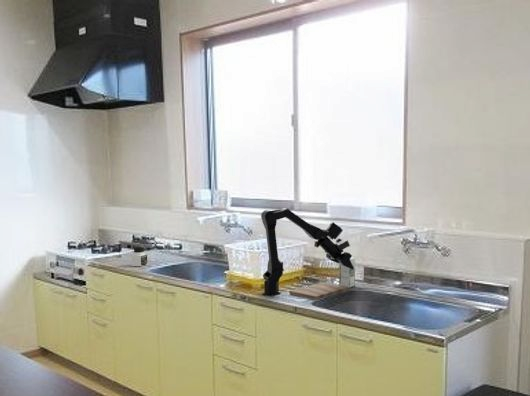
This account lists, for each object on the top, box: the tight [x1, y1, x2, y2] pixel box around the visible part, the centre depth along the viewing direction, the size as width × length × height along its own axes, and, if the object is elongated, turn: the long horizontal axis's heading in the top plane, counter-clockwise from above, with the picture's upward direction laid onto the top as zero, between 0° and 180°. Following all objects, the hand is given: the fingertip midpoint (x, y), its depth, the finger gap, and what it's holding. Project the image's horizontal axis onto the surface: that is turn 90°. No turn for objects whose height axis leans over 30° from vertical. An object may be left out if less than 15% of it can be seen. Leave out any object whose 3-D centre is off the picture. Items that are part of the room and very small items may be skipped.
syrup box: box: [338, 256, 356, 289], centre depth 262 cm, size 6×6×14 cm
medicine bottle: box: [130, 245, 148, 267], centre depth 329 cm, size 7×7×12 cm
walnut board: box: [289, 281, 349, 301], centre depth 253 cm, size 24×16×2 cm, turn 134°
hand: (349, 267), depth 263 cm, fingers closed on syrup box, 7 cm apart
